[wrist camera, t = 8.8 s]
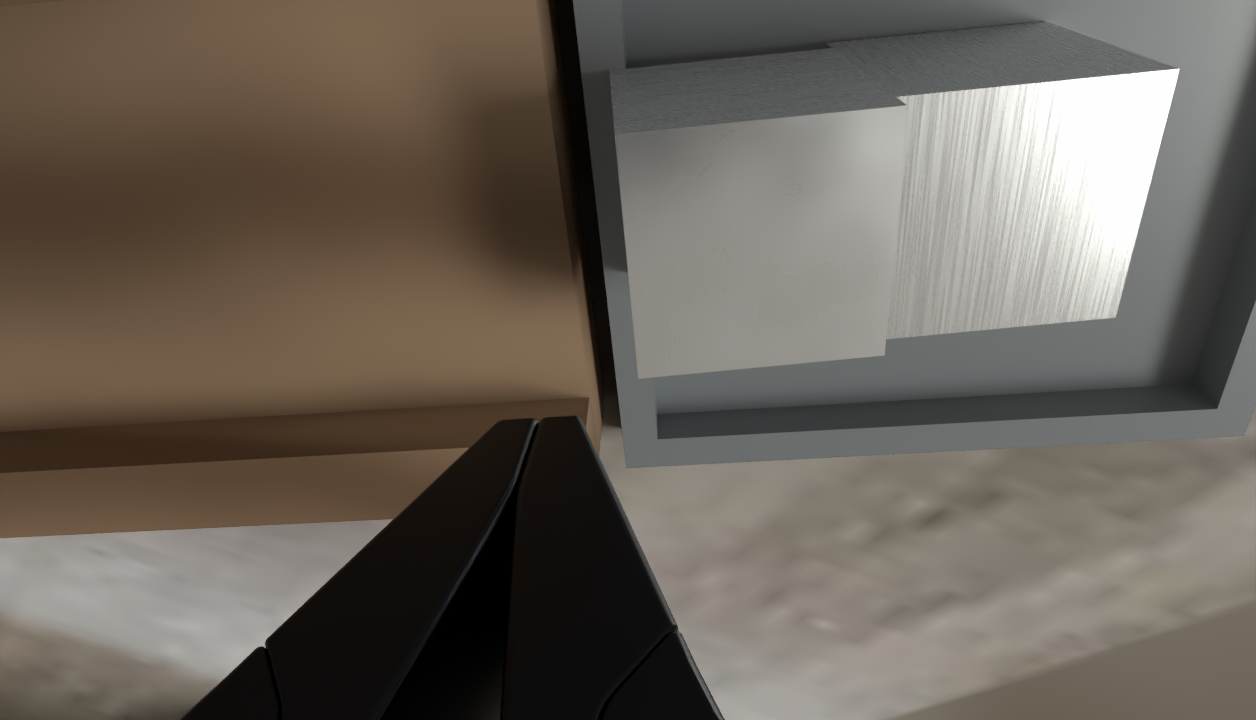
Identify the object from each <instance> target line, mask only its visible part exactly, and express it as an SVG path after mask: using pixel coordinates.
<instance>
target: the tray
mask: <svg viewBox="0 0 1256 720" xmlns="http://www.w3.org/2000/svg"><path fill="white" fill-rule="evenodd" d="M573 6H574V15H575V24H576V32H577V41H578V50H579V59H580V67H581V76H582V85H583V94H584V102H585V111H586V120H587V129H588V137H589V146H590V155H591V164H592V173H593V181H594V190H595V199H596V208H597V216H598V225H599V234H600V243H601V251H602V260H603V269H604V278H605V286H606V295H607V304H608V313H609V321H610V330H611V339H612V348H613V357H614V365H615V374H616V383H617V392H618V400H619V409H620V418H621V427H622V435H623V444H624V453H625V462H626V468H637V467H656V466H676V465H695V464H714V463H733V462H752V461H772V460H791V459H810V458H829V457H849V456H868V455H887V454H906V453H926V452H945V451H964V450H983V449H1002V448H1022V447H1041V446H1060V445H1079V444H1099V443H1118V442H1137V441H1156V440H1176V439H1195V438H1214V437H1233V436H1244V435H1245V432H1246V430H1247V427H1248V424H1249V422H1250V419H1251V417H1252V414H1253V411H1254V409H1255V406H1256V0H573ZM1042 21H1046V22H1049V23H1052V24H1054V25H1057V26H1060V27H1063V28H1066V29H1069V30H1071V31H1074V32H1077V33H1080V34H1083V35H1085V36H1088V37H1091V38H1094V39H1097V40H1100V41H1102V42H1105V43H1108V44H1111V45H1114V46H1116V47H1119V48H1122V49H1125V50H1128V51H1131V52H1133V53H1136V54H1139V55H1142V56H1145V57H1147V58H1150V59H1153V60H1156V61H1159V62H1162V63H1164V64H1167V65H1170V66H1173V67H1176V68H1178V69H1179V73H1178V76H1177V80H1176V84H1175V88H1174V92H1173V96H1172V100H1171V104H1170V108H1169V112H1168V116H1167V119H1166V123H1165V127H1164V131H1163V135H1162V139H1161V143H1160V147H1159V151H1158V155H1157V158H1156V162H1155V166H1154V170H1153V174H1152V178H1151V182H1150V186H1149V190H1148V194H1147V197H1146V201H1145V205H1144V209H1143V213H1142V217H1141V221H1140V225H1139V229H1138V233H1137V237H1136V240H1135V244H1134V248H1133V252H1132V256H1131V260H1130V264H1129V268H1128V272H1127V276H1126V279H1125V283H1124V287H1123V291H1122V295H1121V299H1120V303H1119V307H1118V311H1117V315H1116V318H1106V319H1095V320H1085V321H1074V322H1064V323H1053V324H1043V325H1032V326H1022V327H1011V328H1000V329H990V330H979V331H969V332H958V333H948V334H937V335H927V336H916V337H905V338H895V339H886V346H885V356H874V357H864V358H853V359H843V360H832V361H821V362H811V363H800V364H790V365H779V366H769V367H758V368H748V369H737V370H726V371H716V372H705V373H695V374H684V375H674V376H663V377H652V378H642V379H638V370H637V360H636V349H635V339H634V329H633V318H632V308H631V298H630V288H629V277H628V267H627V257H626V246H625V236H624V226H623V215H622V205H621V195H620V185H619V174H618V164H617V154H616V143H615V133H614V121H613V109H612V97H611V85H610V72H609V70H617V69H627V68H637V67H647V66H657V65H667V64H677V63H687V62H697V61H707V60H717V59H727V58H737V57H747V56H757V55H767V54H777V53H787V52H797V51H807V50H817V49H826V43H832V42H842V41H852V40H862V39H872V38H882V37H892V36H902V35H912V34H922V33H932V32H942V31H952V30H962V29H972V28H982V27H992V26H1002V25H1012V24H1022V23H1032V22H1042Z"/></svg>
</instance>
